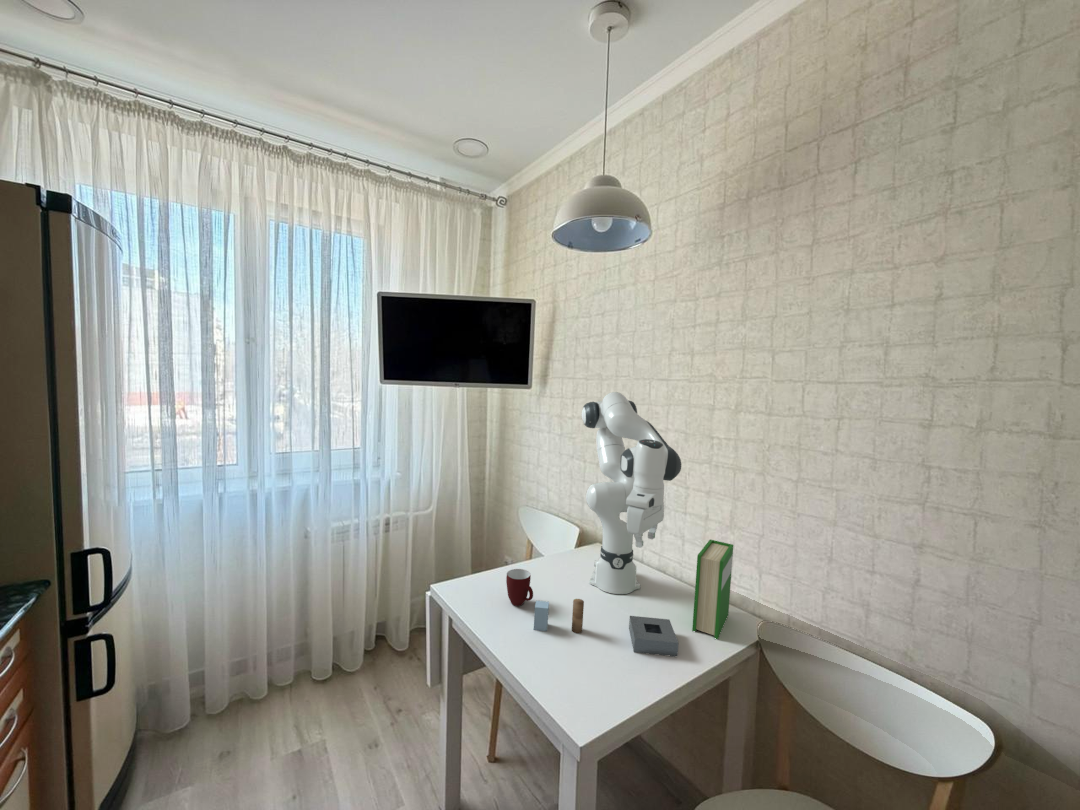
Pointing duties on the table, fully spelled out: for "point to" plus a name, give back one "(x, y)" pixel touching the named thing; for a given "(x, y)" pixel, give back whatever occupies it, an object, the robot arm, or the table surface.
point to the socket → (653, 636)
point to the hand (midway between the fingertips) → (645, 542)
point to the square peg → (541, 615)
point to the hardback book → (712, 587)
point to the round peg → (577, 615)
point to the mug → (518, 586)
